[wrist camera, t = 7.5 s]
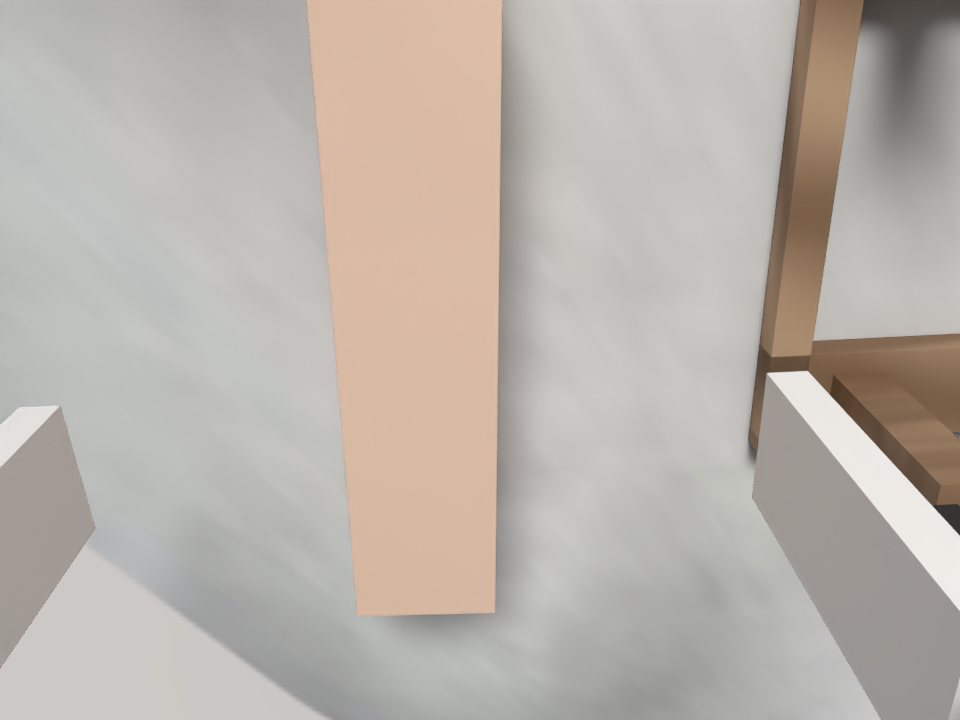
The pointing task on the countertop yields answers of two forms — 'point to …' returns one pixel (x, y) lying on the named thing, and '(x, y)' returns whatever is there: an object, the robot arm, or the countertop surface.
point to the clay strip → (414, 289)
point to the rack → (799, 270)
